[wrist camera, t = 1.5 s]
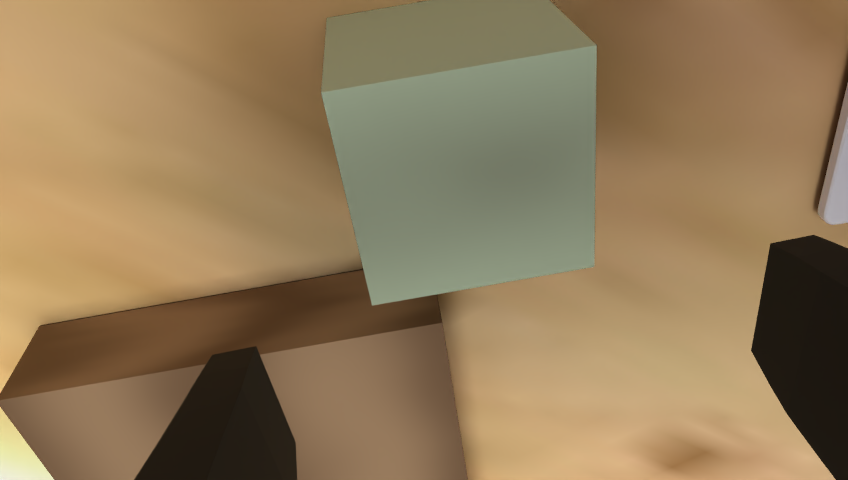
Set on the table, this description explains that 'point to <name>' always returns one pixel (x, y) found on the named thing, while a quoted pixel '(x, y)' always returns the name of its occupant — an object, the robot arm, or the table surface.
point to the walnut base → (286, 367)
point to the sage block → (463, 142)
